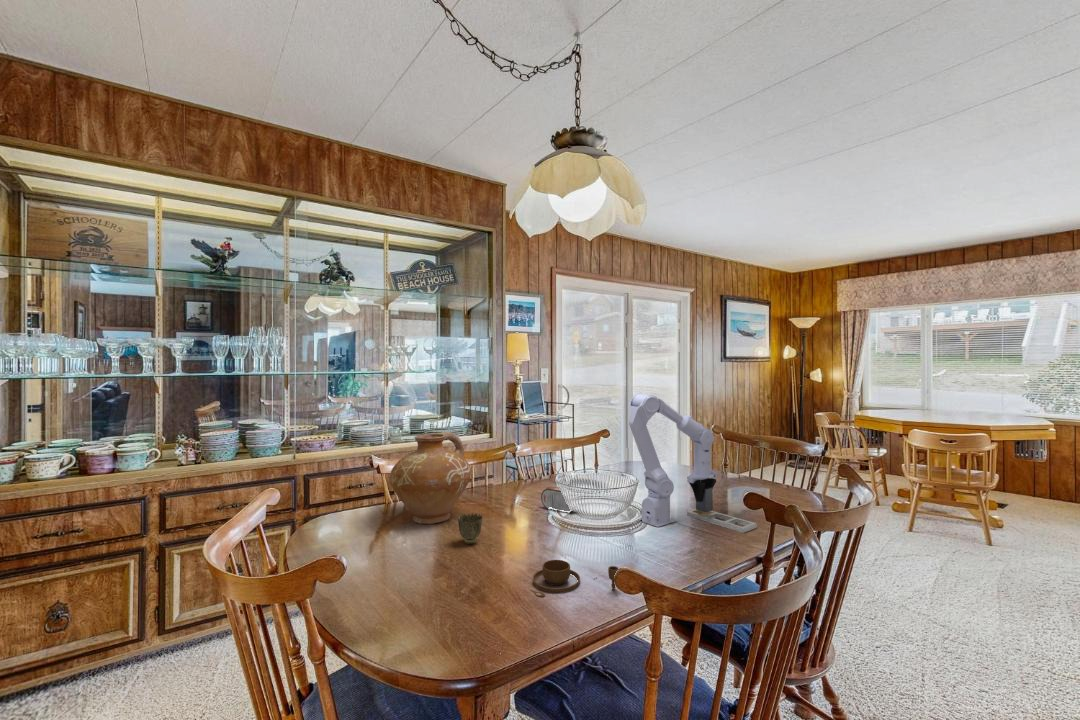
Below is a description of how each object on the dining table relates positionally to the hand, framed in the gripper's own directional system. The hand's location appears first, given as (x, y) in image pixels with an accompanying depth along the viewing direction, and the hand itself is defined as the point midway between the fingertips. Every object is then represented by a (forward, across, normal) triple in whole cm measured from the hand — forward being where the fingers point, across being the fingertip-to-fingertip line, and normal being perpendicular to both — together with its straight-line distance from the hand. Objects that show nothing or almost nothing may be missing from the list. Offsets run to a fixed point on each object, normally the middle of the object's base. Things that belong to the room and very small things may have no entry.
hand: (702, 500), depth 172 cm
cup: (+6, -77, +28) cm, 82 cm away
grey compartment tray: (+6, 0, -7) cm, 9 cm away
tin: (+6, -36, +36) cm, 51 cm away
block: (+3, 0, 0) cm, 3 cm away
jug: (+6, -77, +57) cm, 96 cm away
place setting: (+6, -72, -12) cm, 73 cm away
